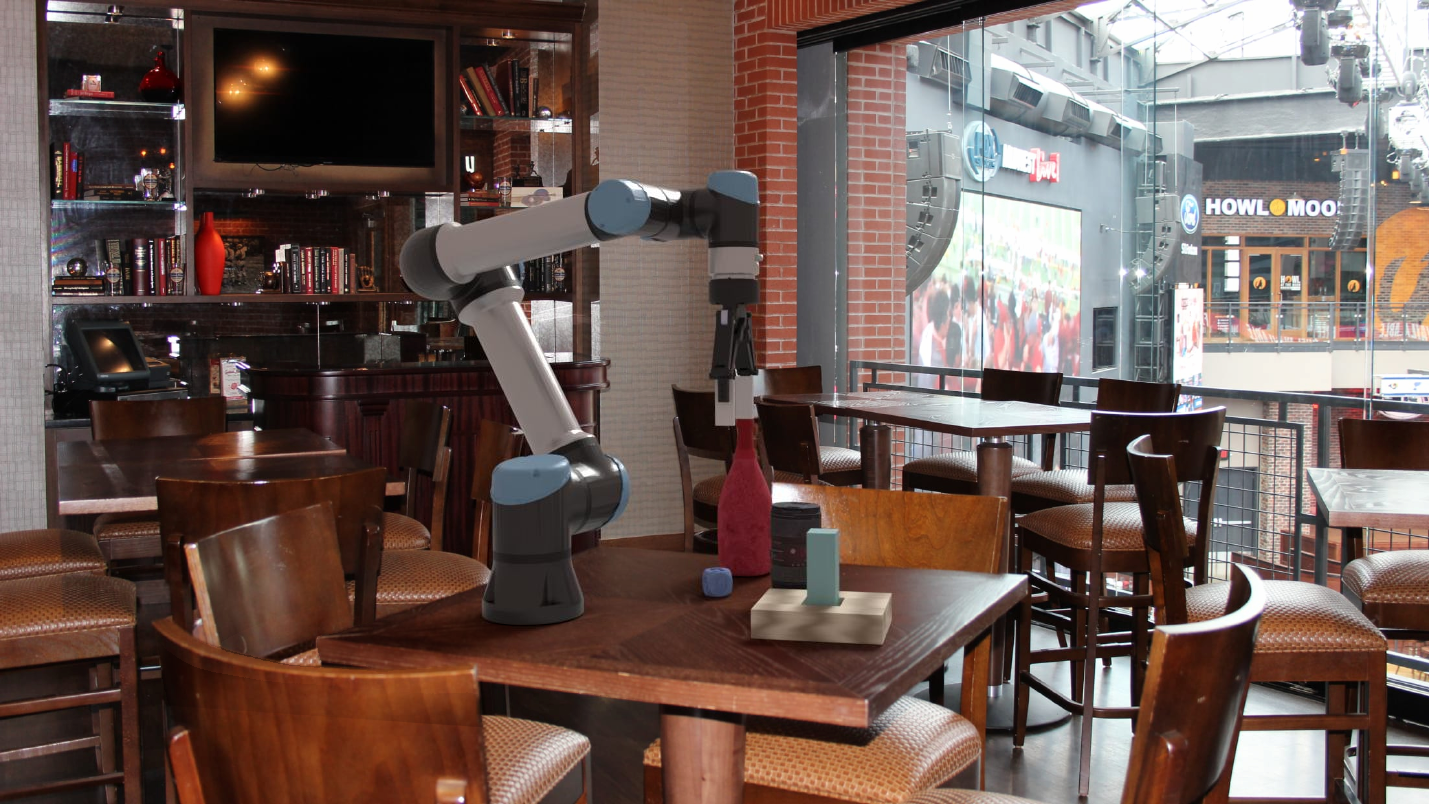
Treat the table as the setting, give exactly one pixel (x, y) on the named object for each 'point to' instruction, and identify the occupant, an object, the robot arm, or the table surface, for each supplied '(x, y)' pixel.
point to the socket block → (822, 617)
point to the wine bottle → (745, 511)
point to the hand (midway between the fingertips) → (735, 422)
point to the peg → (823, 567)
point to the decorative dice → (717, 582)
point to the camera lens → (791, 542)
